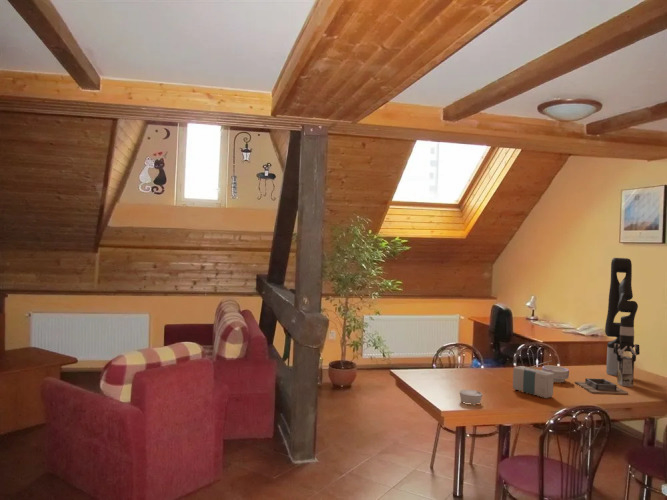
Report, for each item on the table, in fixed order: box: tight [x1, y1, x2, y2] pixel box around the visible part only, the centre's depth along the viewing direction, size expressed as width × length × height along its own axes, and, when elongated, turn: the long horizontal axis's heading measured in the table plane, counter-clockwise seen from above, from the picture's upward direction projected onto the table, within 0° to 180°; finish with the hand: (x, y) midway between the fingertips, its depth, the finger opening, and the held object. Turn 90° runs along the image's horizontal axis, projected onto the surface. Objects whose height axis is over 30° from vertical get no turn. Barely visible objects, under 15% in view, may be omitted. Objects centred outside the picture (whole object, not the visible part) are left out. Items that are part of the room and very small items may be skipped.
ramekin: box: [459, 389, 483, 404], centre depth 274 cm, size 11×11×5 cm
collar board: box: [574, 377, 629, 396], centre depth 308 cm, size 22×20×4 cm
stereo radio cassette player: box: [512, 359, 554, 399], centre depth 293 cm, size 21×8×20 cm, turn 37°
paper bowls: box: [541, 365, 570, 384], centre depth 323 cm, size 15×15×8 cm
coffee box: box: [616, 355, 635, 388], centre depth 318 cm, size 9×6×16 cm
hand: (626, 361), depth 318 cm, fingers open, 8 cm apart
